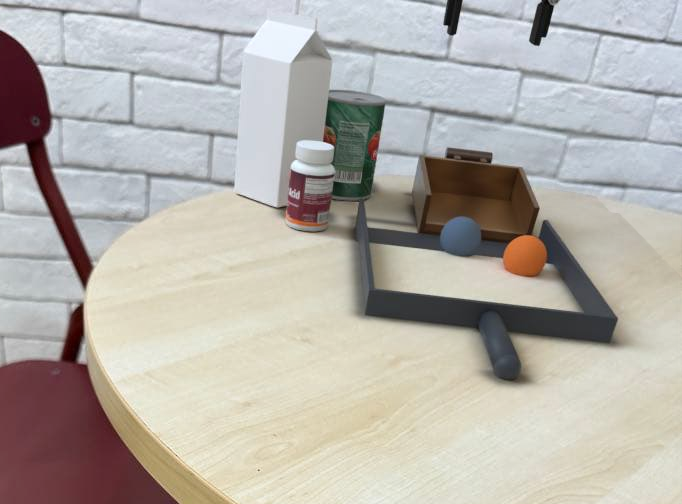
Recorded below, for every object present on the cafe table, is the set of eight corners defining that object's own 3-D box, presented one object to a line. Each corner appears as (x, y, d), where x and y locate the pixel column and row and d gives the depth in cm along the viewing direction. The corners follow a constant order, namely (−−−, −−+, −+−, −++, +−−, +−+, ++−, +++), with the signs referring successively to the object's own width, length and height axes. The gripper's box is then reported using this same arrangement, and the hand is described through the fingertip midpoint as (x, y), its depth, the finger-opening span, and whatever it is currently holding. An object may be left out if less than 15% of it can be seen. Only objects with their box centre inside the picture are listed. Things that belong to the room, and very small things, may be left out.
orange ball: (554, 261, 82) (539, 290, 86) (552, 228, 84) (537, 258, 88) (511, 256, 82) (498, 285, 86) (510, 223, 84) (497, 253, 87)
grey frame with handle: (354, 228, 95) (359, 197, 93) (539, 249, 96) (547, 220, 94) (366, 378, 64) (374, 338, 62) (639, 409, 65) (655, 370, 63)
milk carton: (276, 209, 98) (294, 18, 87) (233, 193, 102) (245, 8, 90) (316, 201, 103) (338, 18, 91) (273, 186, 106) (289, 8, 95)
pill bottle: (280, 218, 95) (288, 138, 90) (320, 219, 97) (330, 140, 92) (290, 232, 92) (299, 149, 87) (332, 233, 93) (343, 151, 88)
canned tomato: (297, 184, 108) (308, 88, 101) (348, 182, 111) (362, 89, 105) (331, 202, 103) (344, 102, 96) (383, 199, 106) (399, 102, 100)
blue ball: (483, 212, 88) (488, 229, 85) (473, 250, 91) (477, 268, 88) (443, 207, 88) (446, 224, 85) (434, 246, 91) (437, 264, 88)
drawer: (508, 194, 107) (520, 153, 104) (528, 247, 96) (541, 203, 93) (410, 183, 107) (418, 141, 104) (417, 234, 96) (427, 189, 92)
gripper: (455, -166, 84) (420, 34, 94) (627, -144, 84) (574, 52, 94) (446, -160, 90) (415, 26, 100) (607, -140, 90) (559, 44, 100)
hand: (492, 39), depth 97 cm, fingers open, 9 cm apart
